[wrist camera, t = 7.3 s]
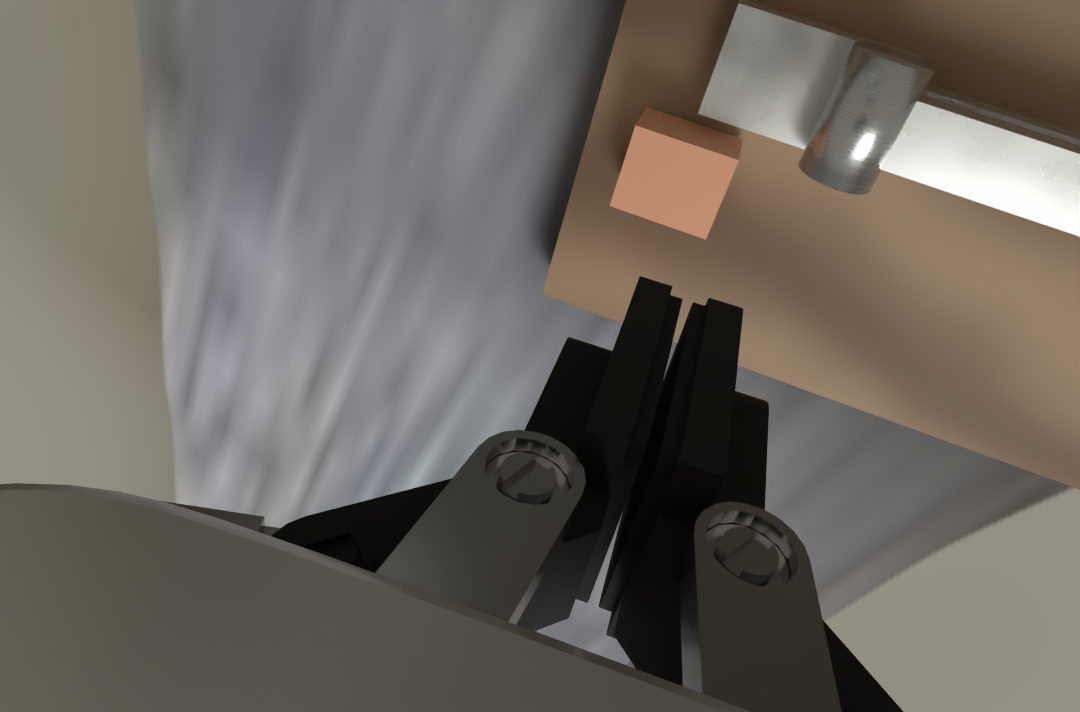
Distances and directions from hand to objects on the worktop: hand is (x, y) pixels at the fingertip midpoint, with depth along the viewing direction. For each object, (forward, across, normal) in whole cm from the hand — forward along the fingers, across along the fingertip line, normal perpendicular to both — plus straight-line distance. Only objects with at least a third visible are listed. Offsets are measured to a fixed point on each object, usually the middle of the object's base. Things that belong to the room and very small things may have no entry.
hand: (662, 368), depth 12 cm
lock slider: (+13, +1, +1) cm, 13 cm away
